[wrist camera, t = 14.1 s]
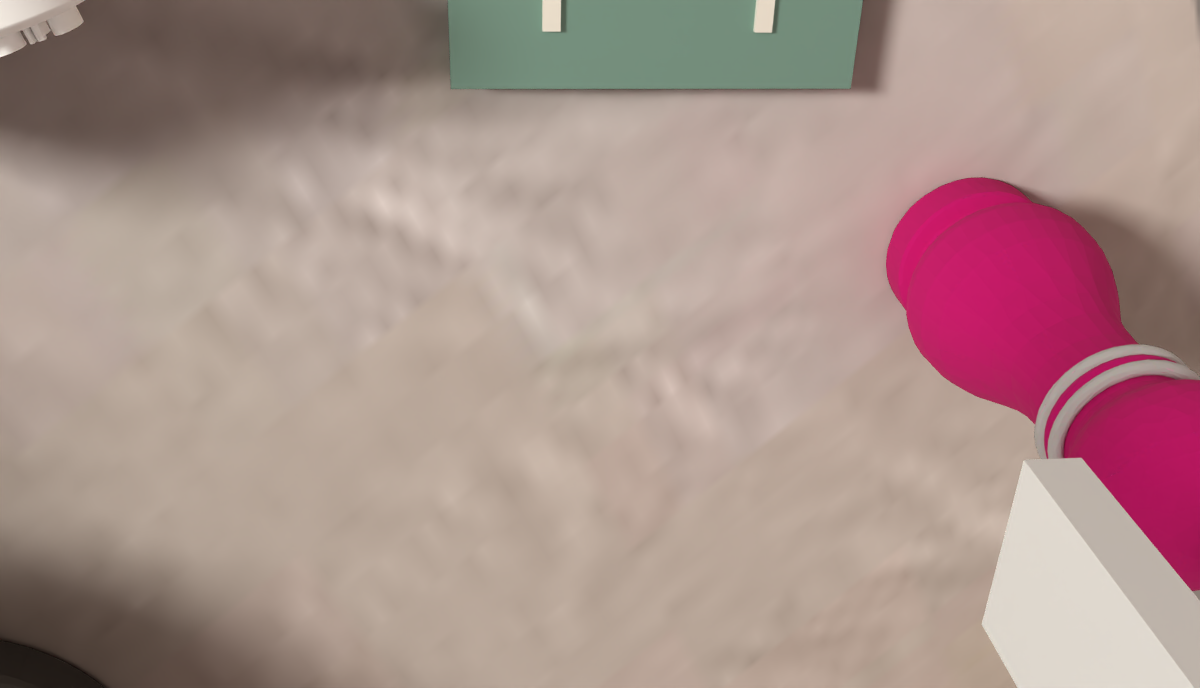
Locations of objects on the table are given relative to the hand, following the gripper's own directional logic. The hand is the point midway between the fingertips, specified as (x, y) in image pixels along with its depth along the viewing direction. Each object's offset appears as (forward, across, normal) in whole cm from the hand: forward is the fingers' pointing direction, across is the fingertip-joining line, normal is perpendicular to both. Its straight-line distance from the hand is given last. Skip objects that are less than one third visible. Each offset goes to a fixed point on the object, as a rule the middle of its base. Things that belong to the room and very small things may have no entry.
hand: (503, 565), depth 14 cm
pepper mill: (+29, -19, +9) cm, 36 cm away
